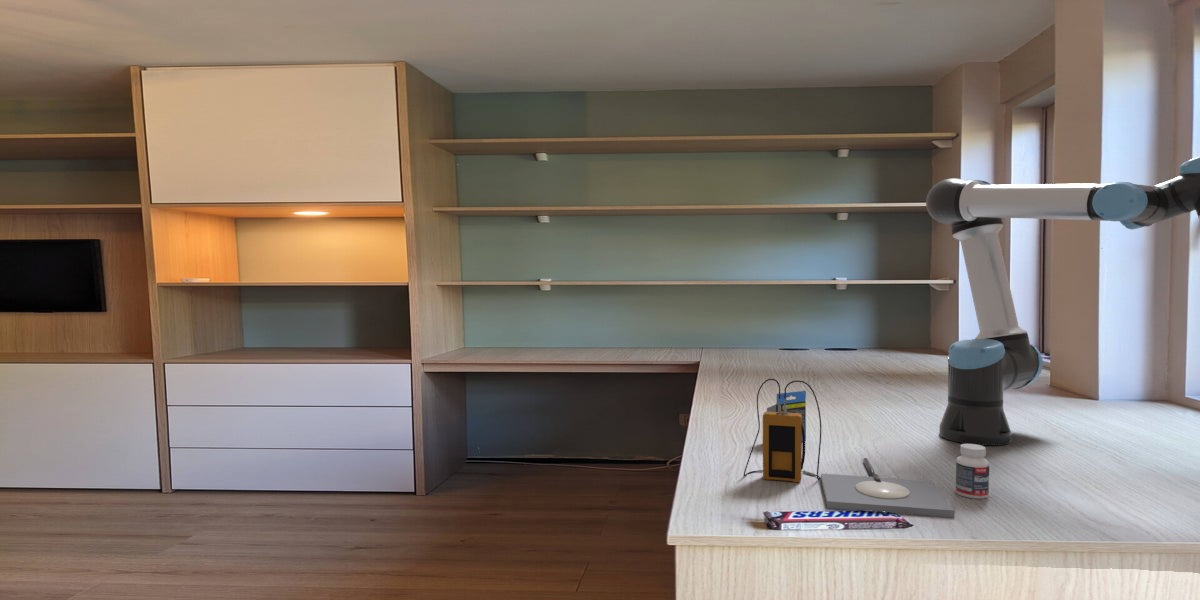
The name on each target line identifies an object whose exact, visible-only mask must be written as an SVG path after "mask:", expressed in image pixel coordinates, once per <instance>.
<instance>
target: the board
mask: <svg viewBox="0 0 1200 600" xmlns="http://www.w3.org/2000/svg"><path fill="white" fill-rule="evenodd" d="M862 460H863V463H864V466H865V467H866V470H867V472H868V474H869V476H865V475H849V474H848V475H847V474H836V473H834V474H832V473H820V478H821V479H820V481H821V486H822V490H823V495H824V498H825V504H826V508H827V509H833V510H834V509H836V510H837V509H838V510H848V511H849V510H851V511H860V510H872V511H871V512H874V511H885V512H884V513H887V512H891V513H892V514H903V515H912V516H913V515H915V516H916V515H917V516H929V517H940V518H941V517H943V518H953V519H955V514H956V512H955V509H954V507H953V506H952V505H951V503H950V502H949V501H948V500H947V498H946V497H945V496H944V494H943V492H942V491H941V490H940V489H939V488H938V486H937V485H936V484H935V482H934V480H929V479H928V480H926V479H914V478H912V479H911V478H899V477H898V478H897V477H881V476H879V475H878V473H875V470H874V468H873V467H872V464H871V463H870V461H869V458H868V457H864V458H863V459H862ZM891 513H890V514H891Z"/></svg>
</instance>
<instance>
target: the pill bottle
mask: <svg viewBox="0 0 1200 600" xmlns="http://www.w3.org/2000/svg"><path fill="white" fill-rule="evenodd" d="M986 449H987V448H986V447H985V445H976V444H966V443H962V444H961V445H960V451H959V452H960V454H961V455H959V456H957V458H956V461H955V463H956V464H955V493H956V494H958V495H959V496H962V497H964V498H969V499H974V500H975V499H976V500H982V499H983V500H984V499H987V498H988V497H989V495H990V494H989V492H990V491H989V489H990V461H988V459H986V458H985V457H986V453H987V452H986Z"/></svg>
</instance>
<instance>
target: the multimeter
mask: <svg viewBox="0 0 1200 600" xmlns="http://www.w3.org/2000/svg"><path fill="white" fill-rule="evenodd" d="M769 381H775V382H776V384H777V386H778V394H779V406H778V412H767V411H765V412H763V414H762V469H760V470H753V471H749V472H747V468H748V465H749V463H750V459H751V457H752V453H753V450H754V448H755V445H756V442H757V439H758V435H759V433H760V427H761V425H760V424H761V423H760V422H761V421H760V414H759V413H760V411H759V396H760V395H759V394H760V392H761V390H762V387H763V386H764V384H765V383H767V382H769ZM793 383H803V384H805V385H806V386H808V387H809V389H810V390H811V392H812V394H813V396H814V400H815V403H816V406H817V411H818V417H819V445H818V455H817V467H816V474H815V473H813V472H810V471H807V470H805V469H804V470H803V468H804V465H805V459H806V441H805V431H804V428H803V423H802V415H801V414H799V413H787V406H786V400H787V398H786V393H787V388H788V386H789V385H791V384H793ZM780 393H781V385H780V383H779V381H778V380H776V379H775V378H768V379H766V380H765V381H763V382H762V384H761V385H760V387H759V388H758V391H757V394H756V413H757V420H758V430H757V433H756V435H755V438H754V442H753V445H752V447H751V450H750V453H749V456H748V459H747V462H746V465H745V468H744V471H743V477H744V476H745V477H747V476H748V475H749V474H752V473H759V472H760V473H762V478H763V479H764V480H766V481H770V480H773V481H774V480H775V481H787V482H793V483H799V482H801V481H802V474H805V475H809V476H814V477H816V479H817V480H821V476H819V470H820V469H819V466H820V465H819V464H820V457H821V455H820V454H821V446H822V445H821V444H822V419H821V410H820V406H819V402H818V399H817V395H816V394H815V392H814V390H813V388H812V386H811V385H809V383H808V382H806V381H803V380H792V381H789V382H788V383H787V384H786V385H785V388H784V393H785V399H784V413H782V412H781V399H780ZM802 438H803V442H802ZM746 472H747V473H746ZM747 474H748V475H747Z"/></svg>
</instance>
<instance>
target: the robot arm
mask: <svg viewBox="0 0 1200 600" xmlns="http://www.w3.org/2000/svg"><path fill="white" fill-rule="evenodd" d="M1178 171H1179V175H1178V176H1175V177H1174V178H1170V179H1169V180H1166V181H1163V182H1160V183H1158V184H1155V185H1146V184H1145V185H1144V184H1137V183H1132V182H1125V181H1119V182H1118V181H1116V182H1112V183H1111V182H1110V183H1055V184H1054V183H1053V184H1052V183H1049V184H1048V183H1045V184H1043V183H1042V184H1041V183H1040V184H1039V183H1038V184H1031V183H1030V184H994V183H991V182H988V181H985V180H980V179H974V180H973V179H971V180H970V179H965V178H964V179H962V178H956V177H955V178H946V179H942V180H941V181H939V182H937V183H936V184H934V185H933V186H932V187H931V189H930V190H929V191H928V193H927V196H926V199H925V206H926V210H927V213H928V214H929V216H930V217H931V218H932V219H933V220H935V222H938V223H941V224H943V225H949V226H950V230H951V235H952V238H954V239H955V240H957V241H959V242H960V245H961V250H962V251H961V252H962V254H963V260H964V264H965V268H966V272H967V273H966V274H967V278H968V282H969V287H970V291H971V297H972V301H973V307H974V309H975V310H974V311H975V315H976V319H977V324H978V329H979V333H978V334H977V336H976V337H975V338H972V339H963V340H958V341H955V342H953V343H951V345H949V349H948V355H947V372H948V373H947V405H946V408H945V411H944V413H943V416H942V419H941V421H940V423H939V433H938V434H939V436H940V437H942V438H944V439H945V440H949V441H952V442H957V443H962V444H976V445H981V446H1005V445H1008V444H1011V442H1012V430H1011V428H1010V425H1009V421H1008V419H1007V416H1006V414H1005V411H1004V391H1007V390H1008V391H1009V390H1018V389H1022V388H1024V387H1027V386H1029V385H1031V384H1033V383H1034V382H1035V381H1036V380H1037V379H1038V378H1039V377H1040V375H1041V374H1042V371H1043V367H1044V365H1043V364H1044V360H1043V357H1042V354H1041V352H1040V350H1039V349H1038V348H1037V347H1036V346H1034V345H1033V344H1032V343H1030V338H1029V334H1028V331H1026V330H1025V329H1023V328H1022V327H1020V326H1019V322H1018V317H1017V312H1016V309H1015V304H1014V299H1013V295H1012V291H1011V287H1010V281H1009V278H1008V271H1007V269H1006V263H1005V260H1004V256H1003V255H1004V254H1003V250H1002V247H1001V241H1000V238H999V233H1000V232H1001V230H1002V229H1003V228H1004V223H1003V219H1029V220H1031V219H1035V220H1036V219H1038V220H1069V221H1070V220H1076V221H1103V222H1107V221H1108V222H1120V224H1121V225H1122V226H1124V227H1125V229H1129V230H1137V229H1140V228H1145V227H1148V228H1149V227H1151V226H1153V225H1154V224H1158V223H1160V222H1163V221H1167V220H1169V219H1172V218H1175V217H1177V216H1181V215H1184V214H1188V213H1191V212H1193V211H1194V212H1196V214H1197V216H1198V217H1197V218H1198V220H1199V221H1200V155H1199V156H1196V157H1193V158H1191V159H1189V160H1186V161H1185V162H1183V163H1181V164H1180V165H1179V168H1178Z"/></svg>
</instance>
